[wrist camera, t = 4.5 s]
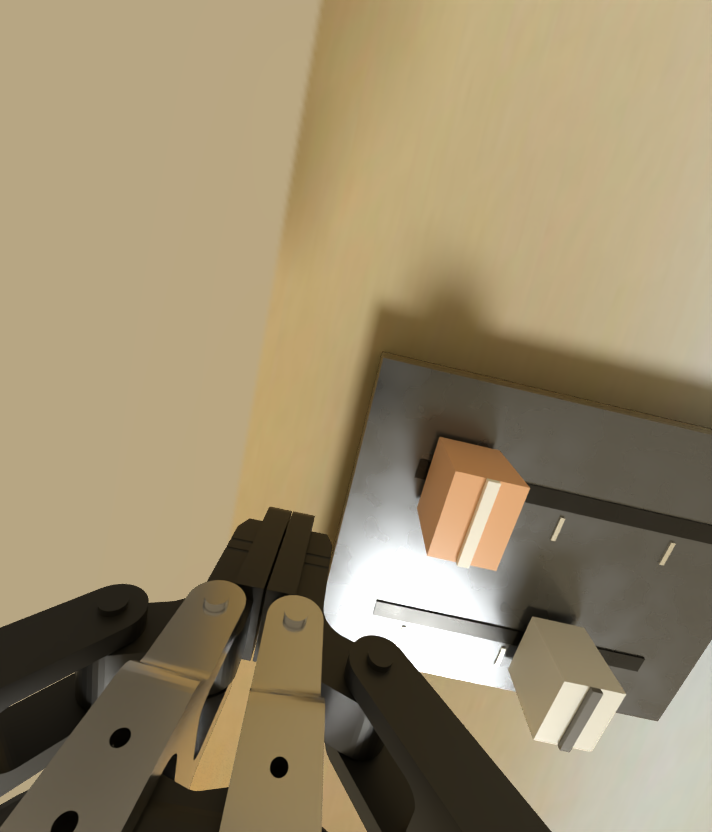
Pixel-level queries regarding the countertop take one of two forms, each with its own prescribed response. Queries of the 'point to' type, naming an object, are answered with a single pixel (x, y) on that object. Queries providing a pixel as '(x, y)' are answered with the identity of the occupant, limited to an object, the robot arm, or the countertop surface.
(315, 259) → the countertop surface
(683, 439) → the console
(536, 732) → the fader grey
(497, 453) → the fader orange
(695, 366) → the countertop surface
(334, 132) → the countertop surface
